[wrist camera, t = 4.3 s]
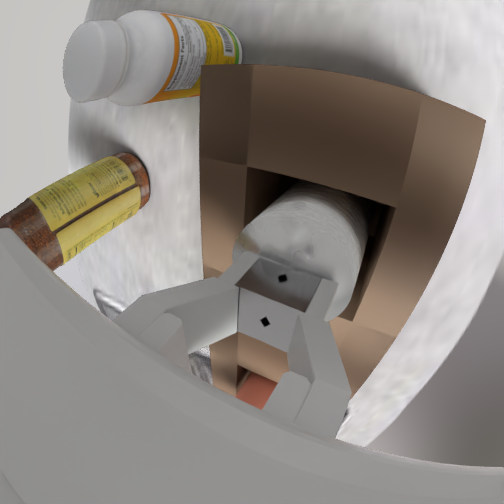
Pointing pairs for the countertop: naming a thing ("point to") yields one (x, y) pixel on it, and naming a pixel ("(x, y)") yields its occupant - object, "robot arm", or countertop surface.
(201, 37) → the supplement bottle
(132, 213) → the sauce bottle
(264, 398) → the pink oval piece
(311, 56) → the countertop surface
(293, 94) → the plug block
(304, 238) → the steel plug
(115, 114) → the countertop surface
